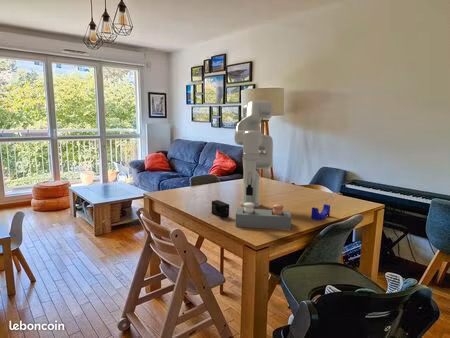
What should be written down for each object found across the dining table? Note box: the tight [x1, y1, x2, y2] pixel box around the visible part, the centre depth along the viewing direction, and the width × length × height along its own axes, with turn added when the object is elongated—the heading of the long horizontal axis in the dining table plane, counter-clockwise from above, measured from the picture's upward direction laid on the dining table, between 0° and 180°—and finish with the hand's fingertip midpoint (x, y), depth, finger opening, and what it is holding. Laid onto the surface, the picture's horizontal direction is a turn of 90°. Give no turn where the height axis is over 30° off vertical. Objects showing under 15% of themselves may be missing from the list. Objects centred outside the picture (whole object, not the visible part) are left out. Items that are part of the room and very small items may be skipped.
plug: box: [243, 202, 255, 214], centre depth 148 cm, size 5×5×6 cm
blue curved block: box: [310, 204, 331, 221], centre depth 161 cm, size 12×4×6 cm, turn 128°
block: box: [234, 207, 292, 231], centre depth 148 cm, size 10×26×6 cm, turn 83°
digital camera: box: [211, 199, 230, 219], centre depth 161 cm, size 10×5×7 cm, turn 36°
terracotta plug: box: [272, 203, 284, 215], centre depth 147 cm, size 5×5×6 cm
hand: (249, 195), depth 146 cm, fingers closed
